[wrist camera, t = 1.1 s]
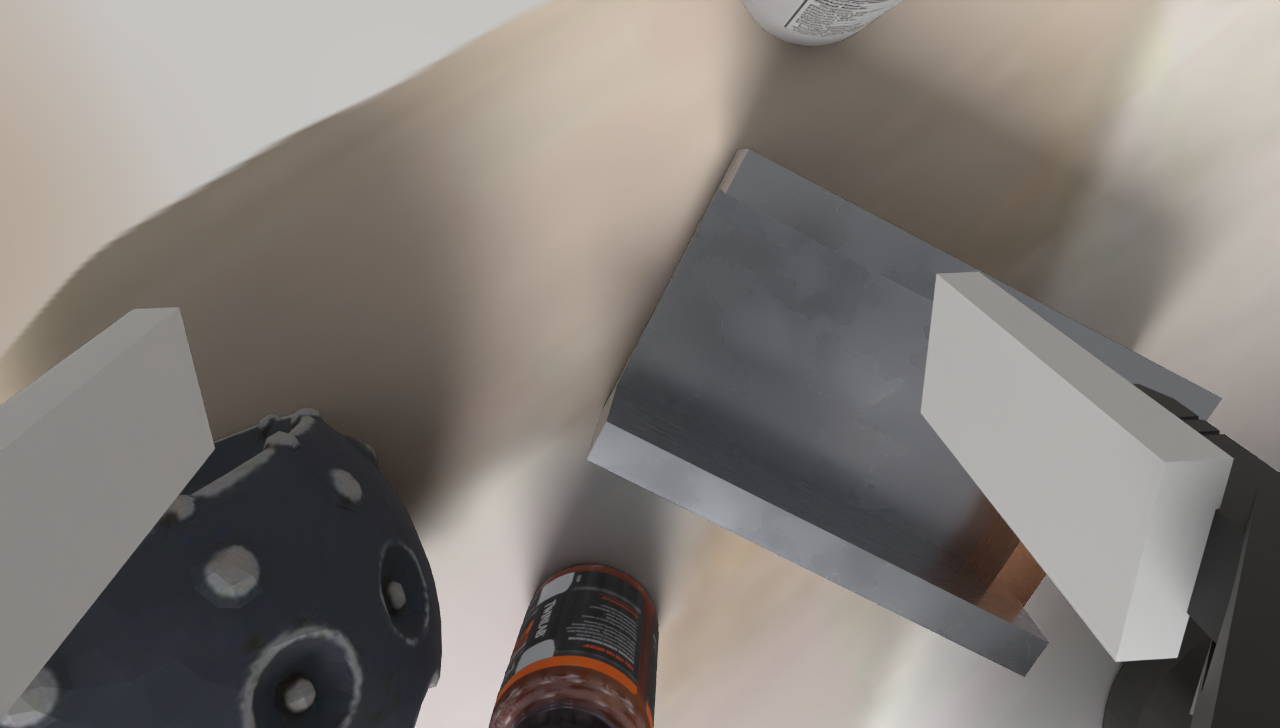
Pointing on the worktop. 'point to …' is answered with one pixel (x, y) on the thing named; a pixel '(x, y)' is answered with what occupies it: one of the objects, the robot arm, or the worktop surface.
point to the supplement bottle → (583, 655)
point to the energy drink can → (816, 18)
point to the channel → (829, 408)
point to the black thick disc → (258, 601)
